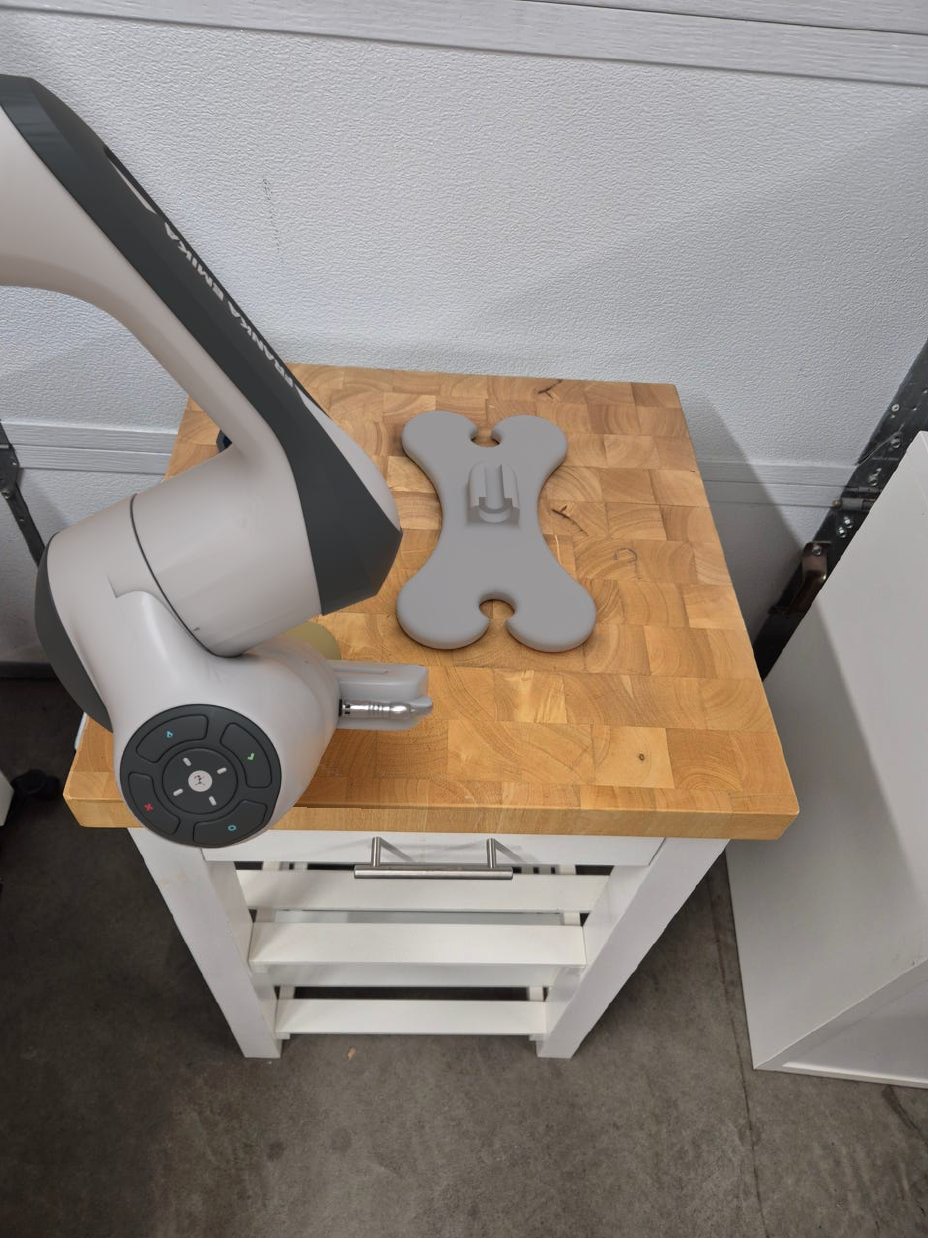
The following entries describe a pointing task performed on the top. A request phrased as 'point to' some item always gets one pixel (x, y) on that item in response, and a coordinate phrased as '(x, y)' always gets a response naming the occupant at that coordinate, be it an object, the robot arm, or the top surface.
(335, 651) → the light bulb
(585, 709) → the top surface
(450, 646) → the holder
